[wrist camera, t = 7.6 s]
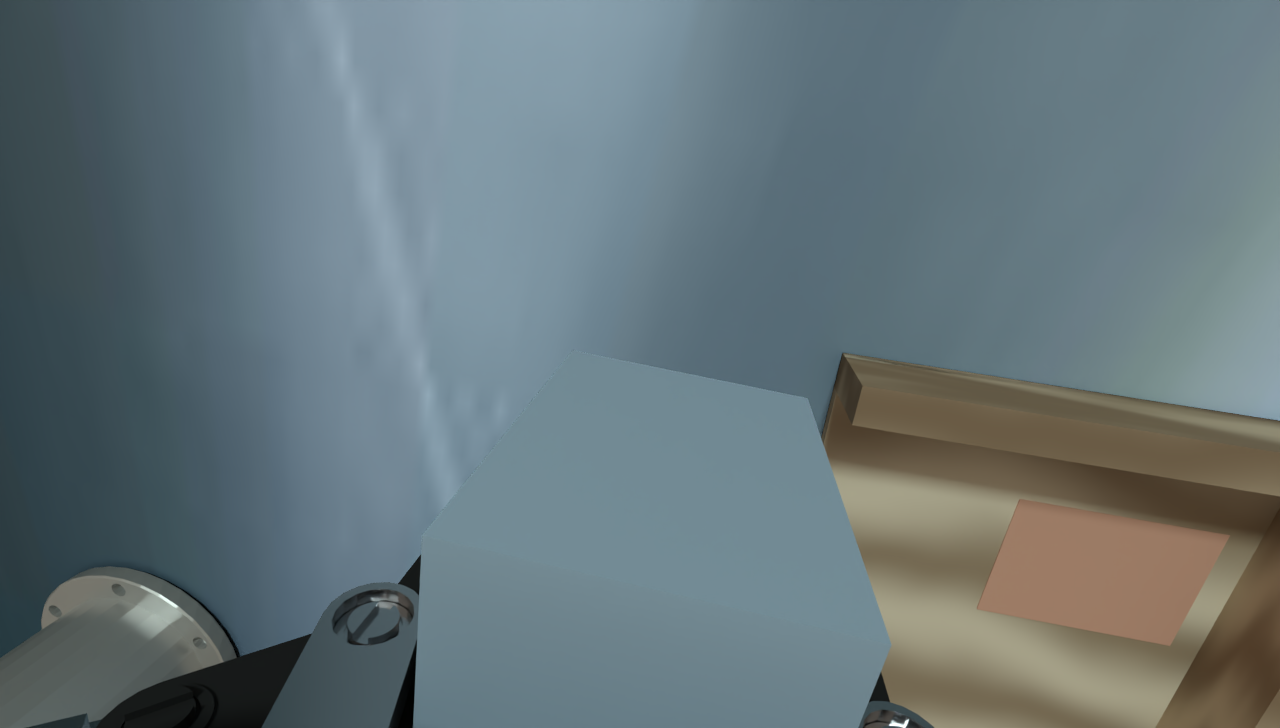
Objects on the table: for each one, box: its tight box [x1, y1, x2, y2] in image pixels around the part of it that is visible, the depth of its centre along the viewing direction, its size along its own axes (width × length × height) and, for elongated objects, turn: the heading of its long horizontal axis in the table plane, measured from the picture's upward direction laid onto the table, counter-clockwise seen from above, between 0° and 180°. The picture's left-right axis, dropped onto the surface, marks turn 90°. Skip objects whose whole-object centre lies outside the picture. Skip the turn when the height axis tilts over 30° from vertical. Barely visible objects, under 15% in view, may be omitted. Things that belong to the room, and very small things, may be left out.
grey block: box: [413, 350, 892, 728], centre depth 10 cm, size 7×4×6 cm, turn 170°
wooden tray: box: [821, 353, 1280, 728], centre depth 26 cm, size 20×20×4 cm
